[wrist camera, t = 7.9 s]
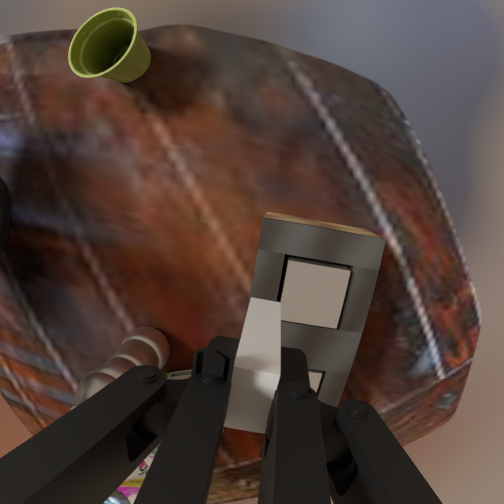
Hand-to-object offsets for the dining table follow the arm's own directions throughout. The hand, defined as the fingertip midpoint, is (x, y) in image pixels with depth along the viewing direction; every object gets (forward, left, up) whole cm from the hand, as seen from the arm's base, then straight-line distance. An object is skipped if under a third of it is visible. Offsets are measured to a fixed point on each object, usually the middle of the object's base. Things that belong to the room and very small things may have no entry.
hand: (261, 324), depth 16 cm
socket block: (+4, -9, -23) cm, 25 cm away
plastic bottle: (-15, -17, -23) cm, 32 cm away
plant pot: (-23, +21, -23) cm, 39 cm away
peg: (+4, -3, -22) cm, 23 cm away
